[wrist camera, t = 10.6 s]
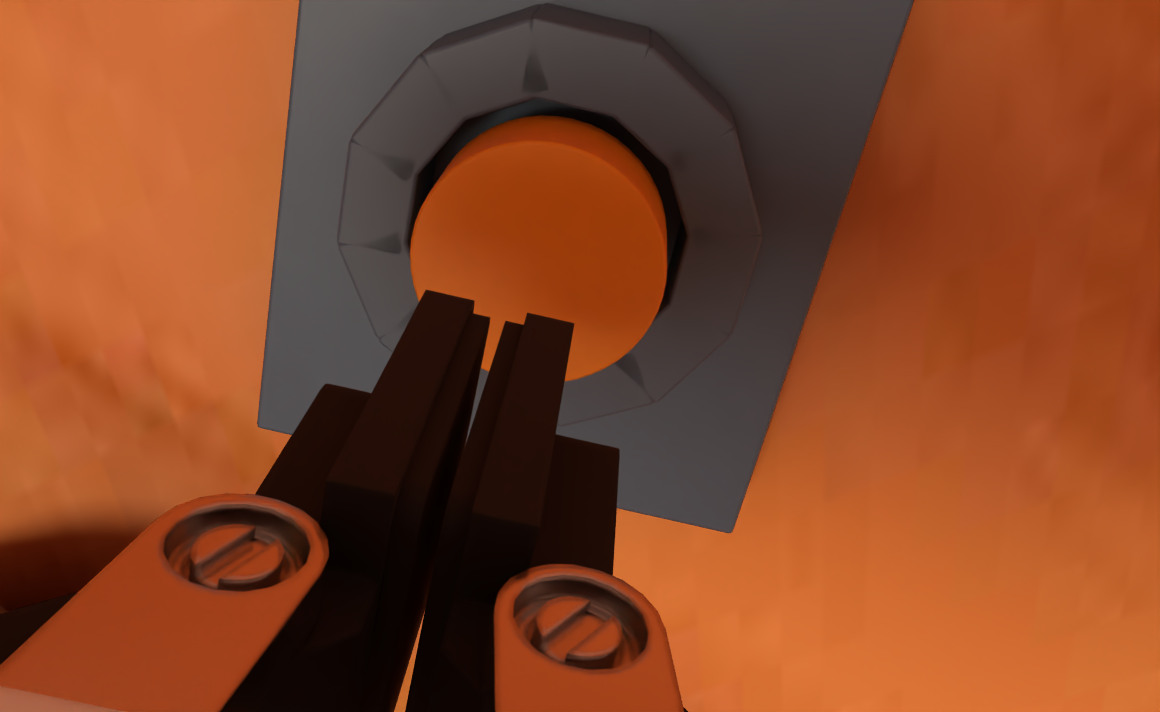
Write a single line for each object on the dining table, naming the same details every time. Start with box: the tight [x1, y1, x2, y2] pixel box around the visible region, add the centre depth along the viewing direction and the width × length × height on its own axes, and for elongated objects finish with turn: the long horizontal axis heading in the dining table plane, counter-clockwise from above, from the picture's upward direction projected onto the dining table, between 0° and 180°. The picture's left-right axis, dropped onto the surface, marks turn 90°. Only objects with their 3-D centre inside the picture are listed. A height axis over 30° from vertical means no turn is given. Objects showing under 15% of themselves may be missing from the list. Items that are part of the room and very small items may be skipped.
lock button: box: [410, 115, 667, 381], centre depth 17 cm, size 4×4×2 cm
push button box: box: [257, 0, 914, 533], centre depth 20 cm, size 10×12×4 cm
